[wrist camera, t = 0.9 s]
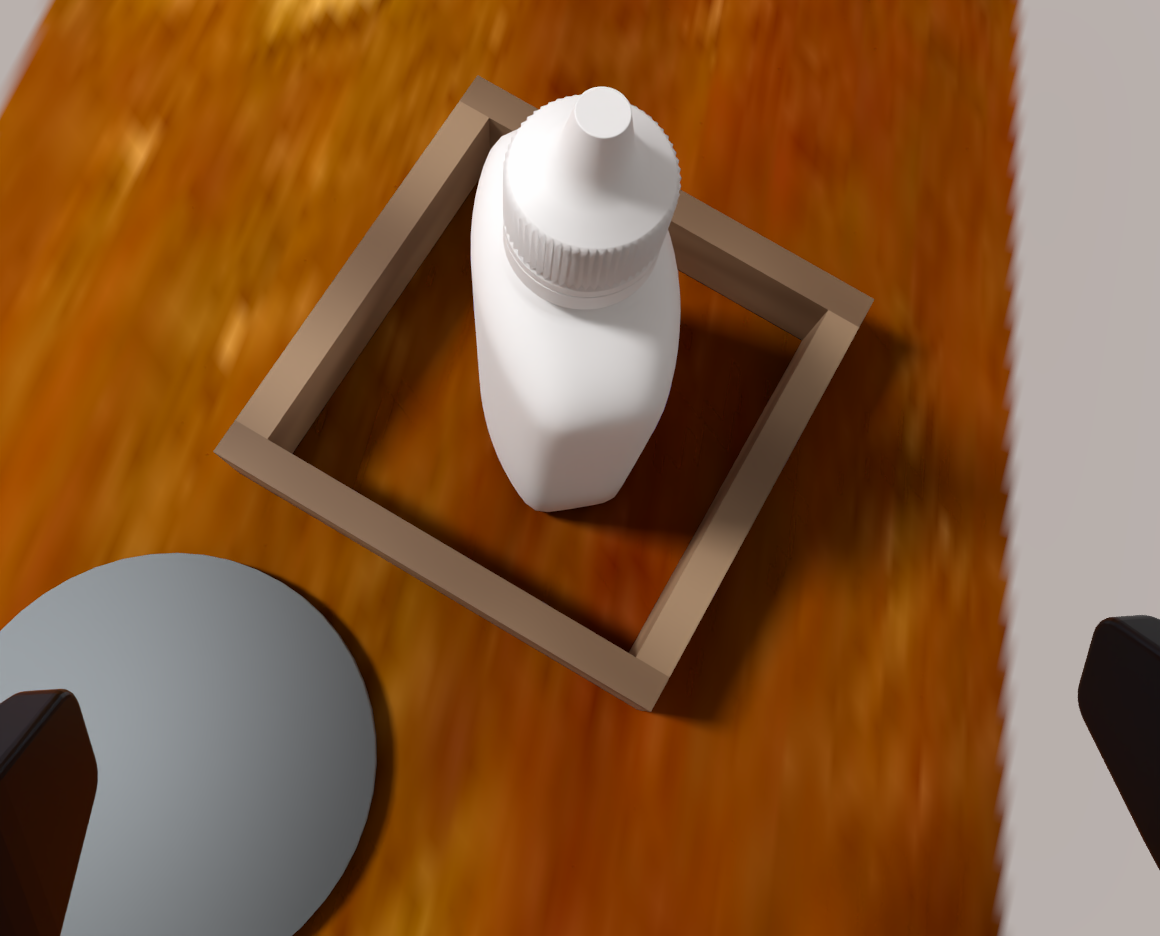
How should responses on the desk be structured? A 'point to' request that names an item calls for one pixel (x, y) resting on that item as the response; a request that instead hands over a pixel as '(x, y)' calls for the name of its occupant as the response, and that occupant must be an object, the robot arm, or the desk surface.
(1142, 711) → the robot arm
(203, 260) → the desk surface
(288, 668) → the rubber coaster
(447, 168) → the walnut collar
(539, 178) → the eye dropper bottle
